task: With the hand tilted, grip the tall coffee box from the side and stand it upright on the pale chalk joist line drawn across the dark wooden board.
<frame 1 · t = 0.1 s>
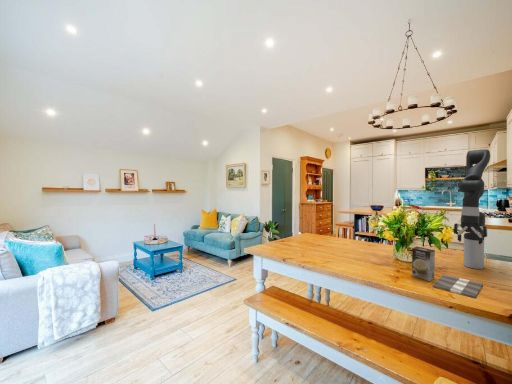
hand: (469, 242, 135), 17 cm above the table, tool pointing down, fingers open, 8 cm apart
subfloor board: (457, 286, 119), on the table
coffee box: (422, 277, 131), on the table
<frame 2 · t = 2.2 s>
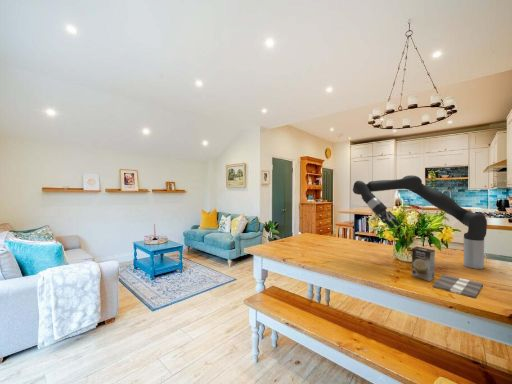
hand: (396, 226, 140), 27 cm above the table, tool tilted 45°, fingers open, 8 cm apart
nothing on the table moved.
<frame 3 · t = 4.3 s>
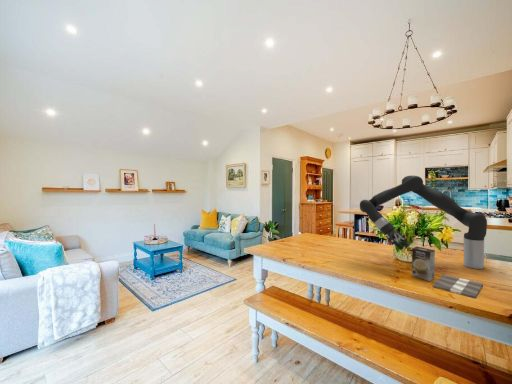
hand: (405, 247, 137), 15 cm above the table, tool tilted 45°, fingers open, 8 cm apart
nothing on the table moved.
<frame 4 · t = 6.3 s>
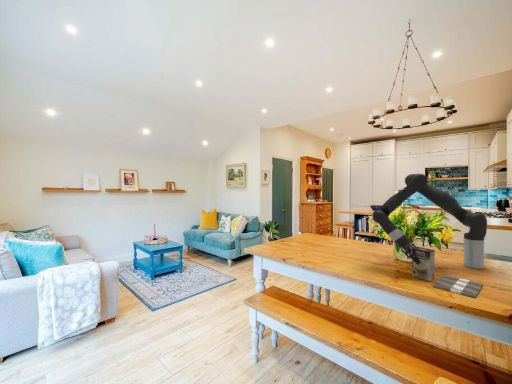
hand: (421, 262, 131), 9 cm above the table, tool tilted 45°, fingers open, 7 cm apart
coffee box: (422, 277, 131), on the table, touching gripper
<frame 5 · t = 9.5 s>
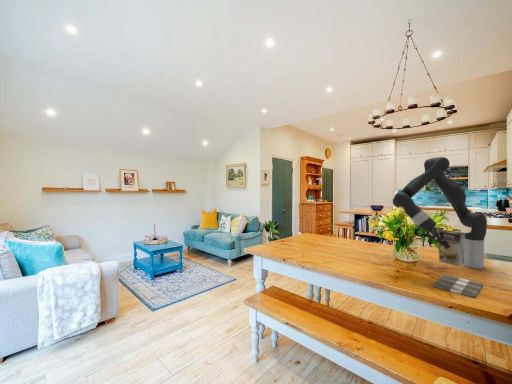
hand: (450, 246, 121), 20 cm above the table, tool tilted 45°, fingers closed on coffee box, 7 cm apart
coffee box: (451, 263, 121), point 11 cm above the table, touching gripper
when the fingers open (11 cm above the table, at t = 12.7 s): coffee box drops 1 cm, resting on subfloor board.
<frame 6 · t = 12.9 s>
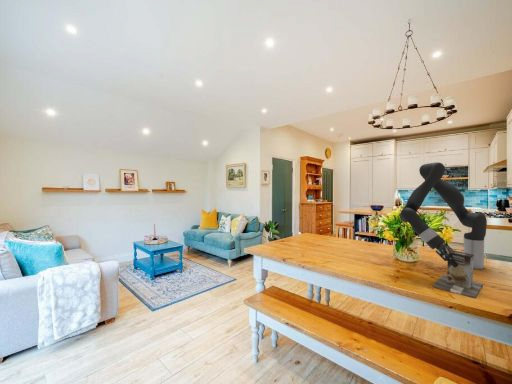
hand: (458, 264, 118), 11 cm above the table, tool tilted 45°, fingers open, 8 cm apart
coffee box: (459, 284, 118), point 1 cm above the table, touching subfloor board
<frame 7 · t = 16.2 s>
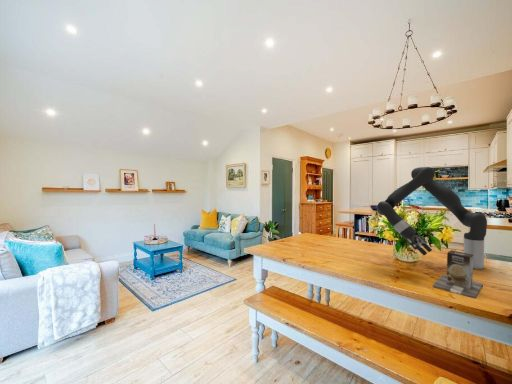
hand: (428, 252, 128), 14 cm above the table, tool tilted 45°, fingers open, 8 cm apart
nothing on the table moved.
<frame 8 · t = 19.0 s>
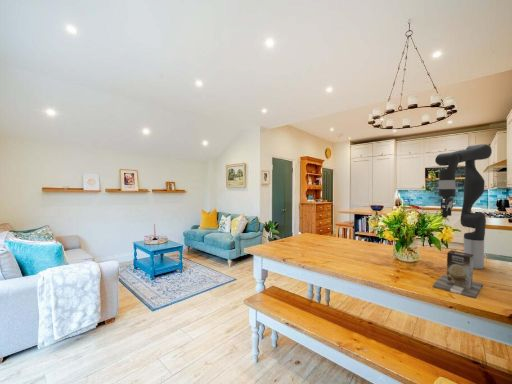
hand: (446, 216, 134), 33 cm above the table, tool pointing down, fingers open, 8 cm apart
nothing on the table moved.
at the end: coffee box inside the target area on the subfloor board (0.4 cm from its centre), point 0.8 cm above the subfloor board's base; coffee box tilted 0°; the gripper is holding nothing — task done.
